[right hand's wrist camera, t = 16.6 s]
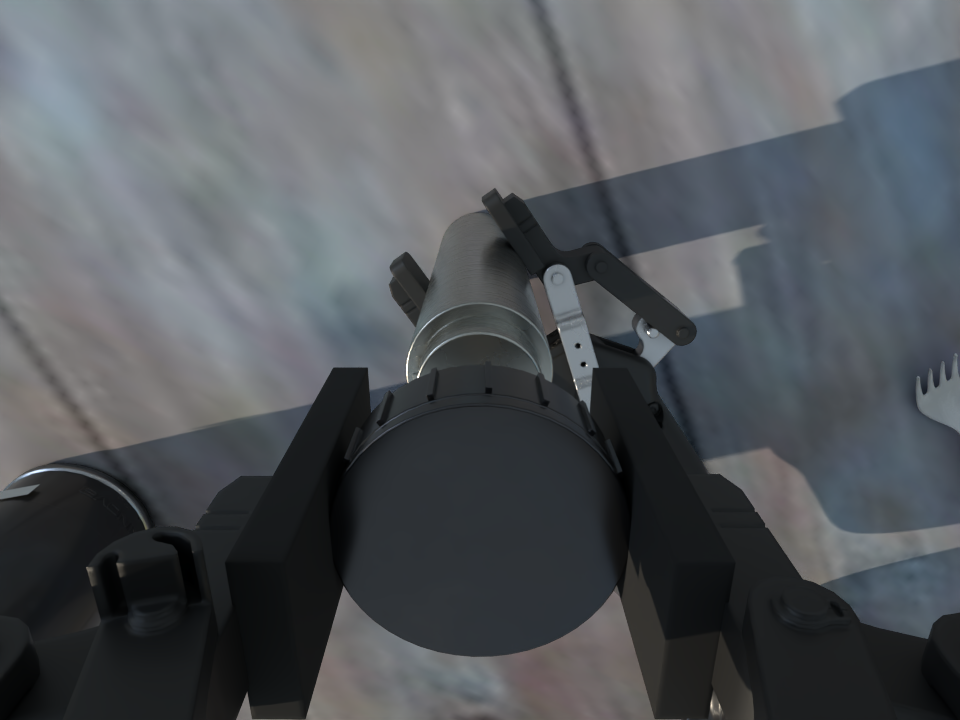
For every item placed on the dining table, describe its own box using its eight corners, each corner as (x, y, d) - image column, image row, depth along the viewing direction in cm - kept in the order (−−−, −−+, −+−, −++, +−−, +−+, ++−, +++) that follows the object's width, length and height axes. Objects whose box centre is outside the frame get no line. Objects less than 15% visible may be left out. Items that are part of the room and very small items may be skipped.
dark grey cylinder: (440, 289, 35) (400, 462, 18) (440, 211, 34) (398, 314, 16) (516, 291, 35) (553, 465, 18) (521, 213, 34) (565, 319, 16)
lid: (675, 472, 12) (703, 526, 11) (495, 636, 14) (497, 704, 12) (463, 301, 11) (459, 333, 9) (290, 501, 12) (262, 558, 11)
